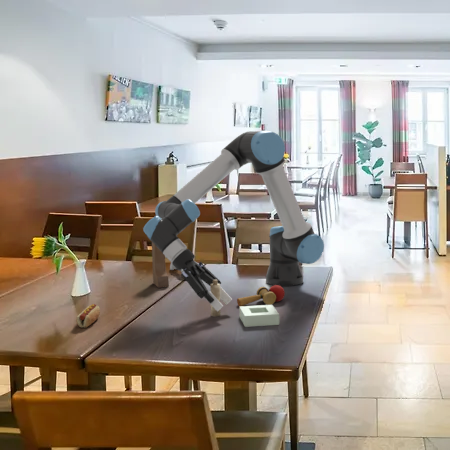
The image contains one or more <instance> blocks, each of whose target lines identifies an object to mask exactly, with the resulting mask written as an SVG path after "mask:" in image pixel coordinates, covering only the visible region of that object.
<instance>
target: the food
mask: <svg viewBox="0 0 450 450" xmlns="http://www.w3.org/2000/svg"><path fill="white" fill-rule="evenodd" d="M100 315H101V308H100V306H99V305H97V304H95V303H92V304H91V305H88V306H86V308H84V309H83V310H82V312H80V313H79V314H78V315H76V318H75V321H76V324H77V326H78V327H80V328H84V329H85V328H88V327H90V325H92V324H93V323H94V322H95V321H97V320H98V319H99V317H100Z"/></svg>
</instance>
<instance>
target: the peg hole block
mask: <svg viewBox="0 0 450 450" xmlns="http://www.w3.org/2000/svg"><path fill="white" fill-rule="evenodd" d="M238 307H239V310H238V311H239V315H238V316H239V319H240V321H241V323H242V324H243V326H244V327H245V328H248V327H263V326H265V327H266V326H278V325H280V313H279V312H278V311H277V309H276V307H275V306H274V305H273V304H271V305H267V304H261V305H257V304H256V305H243V306H238Z"/></svg>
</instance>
